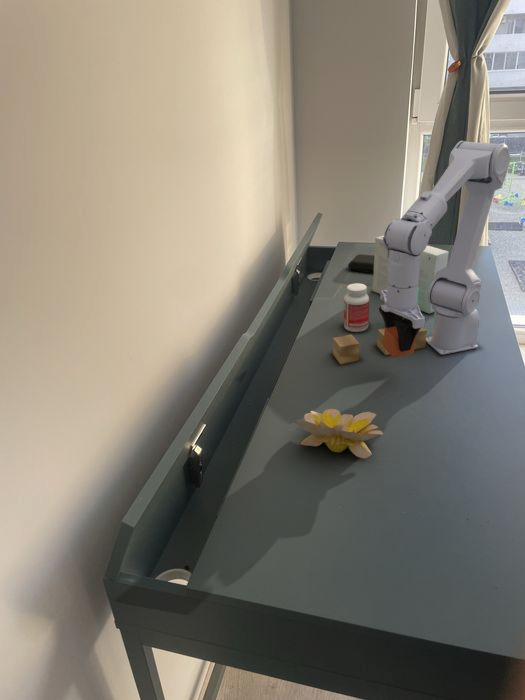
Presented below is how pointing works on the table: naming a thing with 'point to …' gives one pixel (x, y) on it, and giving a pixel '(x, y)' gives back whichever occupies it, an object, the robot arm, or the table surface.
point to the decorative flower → (340, 431)
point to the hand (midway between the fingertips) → (398, 344)
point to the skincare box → (429, 266)
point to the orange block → (394, 343)
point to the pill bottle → (356, 308)
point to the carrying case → (362, 263)
